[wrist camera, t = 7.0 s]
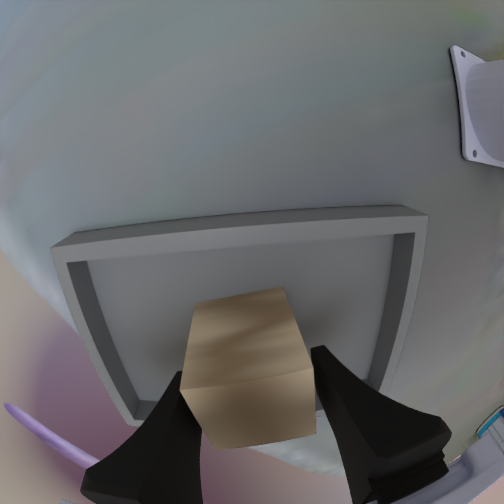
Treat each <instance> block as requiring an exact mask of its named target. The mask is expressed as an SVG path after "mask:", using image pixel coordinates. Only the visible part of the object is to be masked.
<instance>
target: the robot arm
mask: <svg viewBox="0 0 504 504" xmlns="http://www.w3.org/2000/svg"><path fill="white" fill-rule="evenodd" d="M450 51H451V56H452V61H453V65H454V71H455V76H456V82H457V89H458V96H459V104H460V114H461V127H462V152H463V156H464V158H465V159H466V160H469V161H474V162H479V163H484V164H489V165H494V166H498V167H502V168H504V59H503V60H496V61H490V62H485V61H484V60H482V59H480V58H478V57H477V56H475V55H473V54H471V53H469V52H467V51H466V50H464V49H462V48H460V47H458V46H452V47H451V48H450ZM310 351H311V363H312V365H313V369H314V385H315V388H316V391H317V395H318V397H319V400H320V402H321V404H322V407H323V409H324V411H325V414H326V416H327V418H328V421H329V423H330V425H331V428H332V430H333V432H334V435H335V438H336V441H337V444H338V448H339V451H340V454H341V458H342V462H343V465H344V469H345V473H346V477H347V481H348V484H349V489H350V494H351V498H352V503H353V504H469V503H470V502H471V501H473V500H474V499H475V498H477V497H478V496H479V495H481V494H482V493H483V492H484V491H486V490H487V489H488V488H489V487H491V486H492V485H493V484H494V483H496V482H497V481H498V480H499V479H500V478H501V477H502V476H504V456H503V454H502V452H501V451H500V449H499V448H498V446H497V445H496V443H495V442H494V440H493V439H492V437H491V436H490V434H486V435H484V436H483V437H482V438H481V439H479V440H478V441H476V442H475V443H474V444H472V445H471V446H470V447H468V448H467V449H466V450H465V451H464V452H463V453H462V455H461V456H460V457H459V458H458V459H456V460H454V461H453V462H451V463H450V464H448V465H446V464H445V462H444V460H443V458H444V457H445V455H444V453H443V451H442V449H443V448H444V447H445V445H446V444H447V443H448V441H449V440H450V438H451V435H452V432H451V430H450V429H449V427H448V426H447V424H446V423H445V422H444V421H443V420H442V419H441V417H438V416H435V415H431V414H427V413H423V412H420V411H417V410H415V409H412V408H409V407H407V406H405V405H403V404H401V403H398V402H396V401H394V400H392V399H390V398H388V397H387V396H385V395H383V394H381V393H380V392H378V391H376V390H375V389H373V388H372V387H370V386H369V385H368V384H366V383H365V382H364V381H362V380H361V379H360V378H358V377H357V376H356V375H355V374H353V373H352V372H351V371H350V370H349V369H348V368H347V367H345V366H344V365H343V364H342V363H341V362H340V361H339V360H338V359H337V358H336V357H335V356H334V355H333V354H332V353H331V352H330V350H329V349H328V348H327V347H326V346H325V345H320V346H316V347H312V348H310ZM182 372H183V371H177V372H176V374H175V375H174V377H173V379H172V380H171V382H170V384H169V385H168V387H167V389H166V390H165V392H164V394H163V395H162V397H161V398H160V400H159V401H158V403H157V404H156V406H155V407H154V409H153V410H152V411H151V413H150V414H149V416H148V417H147V418H146V420H145V421H144V422H143V423H142V425H141V426H140V427H139V428H138V429H137V430H136V431H135V433H134V434H133V435H132V436H131V437H130V438H129V439H128V440H126V441H125V442H124V443H123V444H122V445H121V446H120V447H119V448H118V449H116V450H115V451H114V452H113V453H111V454H110V455H108V456H107V457H106V458H104V459H103V460H101V461H100V462H98V463H96V464H95V465H93V466H91V467H90V468H88V469H86V472H85V475H84V478H83V482H82V486H81V489H80V491H81V493H82V494H83V495H84V496H85V497H86V498H88V499H89V500H91V501H93V502H94V503H96V504H203V499H202V491H201V480H200V446H201V435H202V428H201V426H200V425H199V423H198V421H197V420H196V418H195V416H194V415H193V413H192V411H191V410H190V408H189V406H188V404H187V403H186V401H185V399H184V397H183V395H182V394H181V392H180V384H181V378H182ZM60 504H76V503H73V502H70V501H67V500H64V499H62V500H61V503H60Z"/></svg>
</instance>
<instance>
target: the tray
mask: <svg viewBox="0 0 504 504" xmlns="http://www.w3.org/2000/svg"><path fill="white" fill-rule="evenodd" d="M428 218H429V215H426V214H424V213H421V212H419V211H416V210H414V209H411V208H408V207H406V206H403V205H381V206H351V207H328V208H309V209H292V210H277V211H263V212H250V213H238V214H227V215H216V216H205V217H195V218H185V219H176V220H167V221H158V222H150V223H141V224H133V225H126V226H118V227H111V228H103V229H96V230H89V231H83V232H76V233H73V234H71V235H70V236H68V237H67V238H65V239H63V240H62V241H60V242H59V243H57V244H55V245H54V246H52V247H51V248H50V249H51V253H52V257H53V261H54V264H55V268H56V271H57V275H58V278H59V281H60V284H61V287H62V290H63V293H64V296H65V299H66V302H67V305H68V307H69V310H70V313H71V315H72V318H73V320H74V323H75V325H76V328H77V330H78V333H79V335H80V337H81V339H82V342H83V344H84V346H85V348H86V351H87V353H88V354H89V357H90V359H91V361H92V363H93V365H94V367H95V369H96V371H97V373H98V375H99V377H100V379H101V380H102V382H103V384H104V386H105V388H106V390H107V391H108V393H109V395H110V396H111V398H112V400H113V402H114V403H115V405H116V407H117V408H118V410H119V412H120V413H121V415H122V416H123V418H124V419H125V421H126V423H127V424H128V425H133V426H141V425H142V423H143V422H144V421H145V420H146V418H147V417H148V416H149V414H150V413H151V411H152V410H153V409H154V407H155V406H156V404H157V403H158V401H159V400H160V398H161V397H162V395H163V394H164V392H165V390H166V389H167V387H168V385H169V384H170V382H171V380H172V379H173V377H174V375H175V374H176V372H177V371H183V366H184V361H185V355H186V349H187V344H188V339H189V333H190V328H191V323H192V318H193V313H194V308H195V303H197V302H202V301H208V300H214V299H219V298H224V297H230V296H235V295H240V294H245V293H250V292H255V291H260V290H265V289H270V288H275V287H280V286H283V289H284V292H285V294H286V297H287V299H288V302H289V304H290V307H291V310H292V312H293V315H294V318H295V320H296V323H297V325H298V328H299V331H300V333H301V336H302V339H303V341H304V344H305V347H306V349H307V352H308V355H309V357H310V360H311V351H310V348H312V347H316V346H320V345H325V346H326V347H327V348H328V349H329V350H330V352H331V353H332V354H333V355H334V356H335V357H336V358H337V359H338V360H339V361H340V362H341V363H342V364H343V365H344V366H345V367H347V368H348V369H349V370H350V371H351V372H352V373H353V374H355V375H356V376H357V377H358V378H360V379H361V380H362V381H364V382H365V383H366V384H368V385H369V386H370V387H372V388H373V389H375V390H376V391H378V392H380V393H381V394H383V395H385V396H386V395H387V392H388V390H389V387H390V384H391V382H392V379H393V376H394V373H395V370H396V368H397V365H398V362H399V359H400V356H401V352H402V349H403V346H404V343H405V339H406V336H407V332H408V329H409V325H410V321H411V317H412V313H413V309H414V305H415V300H416V296H417V291H418V286H419V281H420V276H421V270H422V265H423V258H424V252H425V244H426V237H427V228H428ZM314 386H315V385H314ZM315 407H316V417H320V416H325V415H326V414H325V411H324V409H323V407H322V404H321V402H320V400H319V397H318V395H317V391H316V388H315Z"/></svg>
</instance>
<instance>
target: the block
mask: <svg viewBox="0 0 504 504" xmlns="http://www.w3.org/2000/svg"><path fill="white" fill-rule="evenodd" d="M180 392H181V394H182V395H183V397H184V399H185V401H186V403H187V404H188V406H189V408H190V410H191V411H192V413H193V415H194V416H195V418H196V420H197V421H198V423H199V425H200V426H201V428H202V430H203V431H204V433H205V434H206V436H207V438H208V439H209V440H210V442H211V444H212V445H213V447H214V448H215V450H220V449H232V448H240V447H249V446H256V445H263V444H269V443H275V442H280V441H285V440H290V439H295V438H299V437H304V436H308V435H312V434H316V407H315V386H314V369H313V365H312V363H311V360H310V357H309V355H308V352H307V349H306V347H305V344H304V341H303V339H302V336H301V333H300V331H299V328H298V325H297V323H296V320H295V318H294V315H293V312H292V310H291V307H290V304H289V302H288V299H287V297H286V294H285V292H284V289H283V286H280V287H275V288H270V289H265V290H260V291H255V292H250V293H245V294H240V295H235V296H230V297H224V298H219V299H214V300H208V301H202V302H197V303H195V308H194V313H193V318H192V323H191V328H190V333H189V339H188V344H187V349H186V355H185V361H184V366H183V372H182V378H181V384H180Z"/></svg>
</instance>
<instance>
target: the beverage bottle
mask: <svg viewBox="0 0 504 504" xmlns="http://www.w3.org/2000/svg"><path fill="white" fill-rule="evenodd" d="M486 434H490V436H491V437H492V439H493V440H494V442H495V443H496V445H497V446H498V448H499V449H500V451H501V452H502V454H503V456H504V406H502V407H500V408H499V409H497V410H496V411H495V412H494V413H493V414H492V415H491V416H490V417H489V418H488V419H487V420H486V421H485V422H484V423H483V424H482V425H481V426H480V427H479V429H478V431H477V435H478V437H479V438H480V439H481V438H482V437H483V436H484V435H486Z"/></svg>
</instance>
